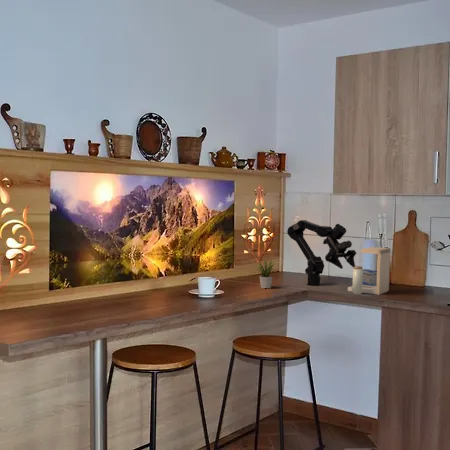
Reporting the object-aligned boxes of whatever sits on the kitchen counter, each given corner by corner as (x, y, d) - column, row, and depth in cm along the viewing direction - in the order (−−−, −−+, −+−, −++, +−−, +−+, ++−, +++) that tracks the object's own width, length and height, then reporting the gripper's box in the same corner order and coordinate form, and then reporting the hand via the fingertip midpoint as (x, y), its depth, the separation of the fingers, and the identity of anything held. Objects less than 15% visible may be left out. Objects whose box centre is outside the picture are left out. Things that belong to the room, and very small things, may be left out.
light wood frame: (346, 291, 349) (348, 248, 347) (357, 287, 362) (359, 246, 361) (379, 294, 340) (380, 250, 338) (388, 290, 353) (390, 248, 352)
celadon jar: (351, 293, 340) (352, 267, 339) (352, 292, 345) (353, 265, 344) (361, 294, 339) (362, 267, 338) (362, 293, 344) (363, 266, 343)
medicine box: (361, 284, 375) (362, 269, 375) (367, 283, 378) (367, 268, 377) (372, 286, 369) (373, 270, 368) (378, 285, 372) (378, 270, 371)
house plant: (281, 286, 360) (282, 256, 359) (281, 290, 346) (282, 259, 345) (255, 285, 361) (256, 255, 360) (254, 289, 347) (254, 258, 346)
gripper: (329, 235, 345) (344, 259, 336) (354, 235, 355) (369, 257, 347) (318, 249, 352) (332, 272, 343) (343, 248, 362) (357, 270, 354)
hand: (348, 267), depth 347 cm, fingers open, 9 cm apart
